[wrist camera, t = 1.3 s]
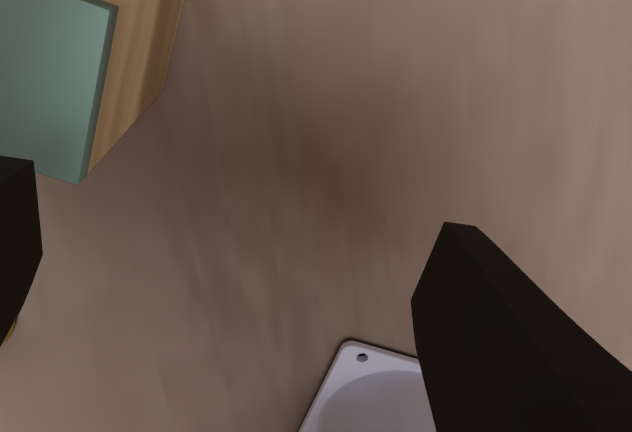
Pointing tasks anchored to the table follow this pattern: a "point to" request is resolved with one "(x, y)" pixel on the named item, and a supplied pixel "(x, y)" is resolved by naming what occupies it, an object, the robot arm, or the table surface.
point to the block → (79, 76)
